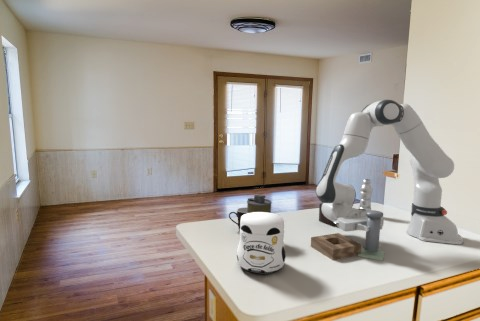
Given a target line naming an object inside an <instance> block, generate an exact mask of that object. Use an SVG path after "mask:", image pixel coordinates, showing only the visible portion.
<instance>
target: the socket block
mask: <svg viewBox="0 0 480 321" xmlns="http://www.w3.org/2000/svg"><path fill="white" fill-rule="evenodd" d="M310 247H311V248H312V249H314V250H316V251H317V252H319V253H320V254H322V255H323V256H325V257H327V258H329V259H330V260H332V261H335V260H339V259H345V258H349V257H350V258H351V257H354V256H355V257H356V256H358V254H361V248H363V245H362V244H361V243H359V242H357V241H355V240H353V239H351V238H349V237H347V236H345V235H343V234H341V233H339V232H336V233H328V234H324V235H322V234H321V235H317V236H311V238H310Z"/></svg>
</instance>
